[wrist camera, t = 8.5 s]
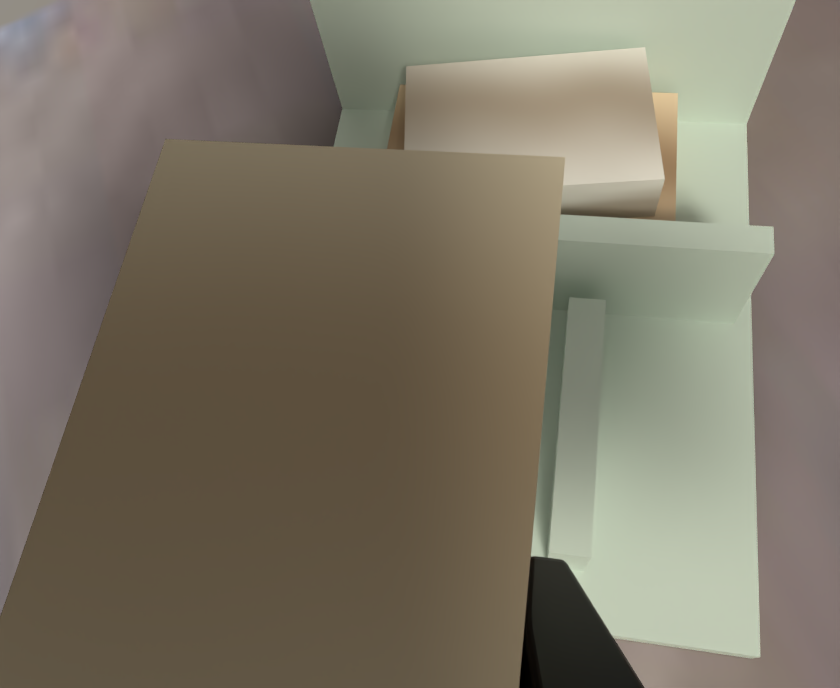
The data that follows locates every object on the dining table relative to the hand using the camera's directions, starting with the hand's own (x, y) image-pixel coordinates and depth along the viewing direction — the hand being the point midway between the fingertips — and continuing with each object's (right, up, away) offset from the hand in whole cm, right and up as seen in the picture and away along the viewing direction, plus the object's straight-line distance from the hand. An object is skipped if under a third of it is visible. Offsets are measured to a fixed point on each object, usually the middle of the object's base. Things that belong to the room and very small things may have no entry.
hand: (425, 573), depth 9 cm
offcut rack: (+3, +3, +15) cm, 16 cm away
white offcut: (+3, +9, +15) cm, 17 cm away
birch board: (+1, -4, +5) cm, 6 cm away
